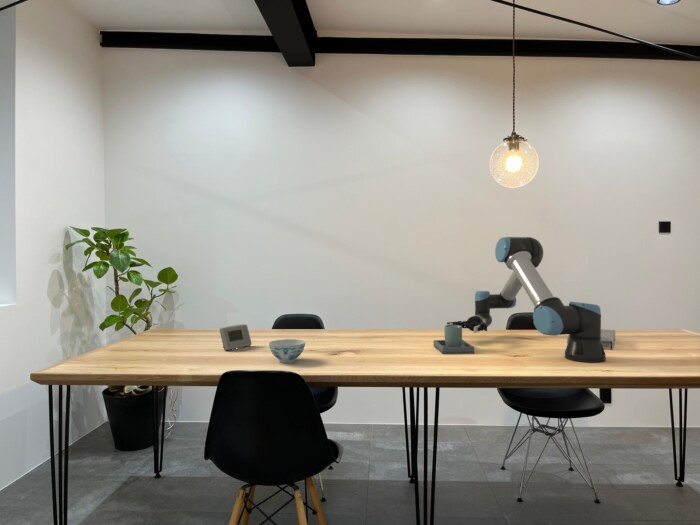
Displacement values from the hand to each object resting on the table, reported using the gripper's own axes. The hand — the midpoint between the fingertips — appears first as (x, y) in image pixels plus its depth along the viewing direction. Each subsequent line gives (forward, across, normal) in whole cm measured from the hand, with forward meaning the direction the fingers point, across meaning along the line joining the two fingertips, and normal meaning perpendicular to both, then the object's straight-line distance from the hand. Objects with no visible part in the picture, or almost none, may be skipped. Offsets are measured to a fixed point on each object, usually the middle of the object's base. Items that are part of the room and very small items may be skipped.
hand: (460, 328), depth 223 cm
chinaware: (+67, +49, -9) cm, 84 cm away
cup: (+9, 0, -8) cm, 12 cm away
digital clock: (+60, +88, -9) cm, 107 cm away
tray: (+9, 0, -8) cm, 13 cm away
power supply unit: (-43, -50, -9) cm, 67 cm away
